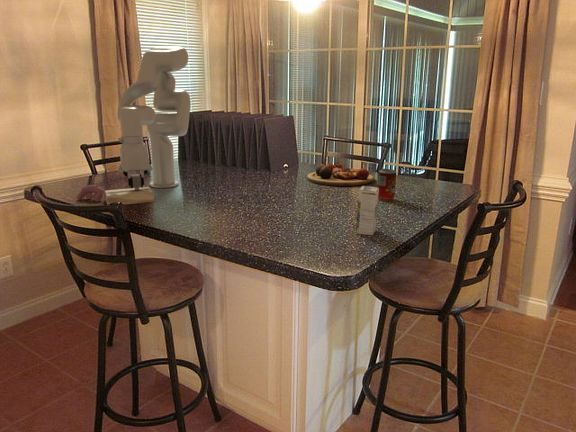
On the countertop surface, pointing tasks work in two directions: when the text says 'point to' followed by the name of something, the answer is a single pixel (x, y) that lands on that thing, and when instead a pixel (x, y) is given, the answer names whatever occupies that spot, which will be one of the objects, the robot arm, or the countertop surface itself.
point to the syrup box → (367, 210)
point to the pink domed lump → (89, 190)
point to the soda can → (386, 184)
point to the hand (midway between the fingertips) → (136, 186)
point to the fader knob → (136, 181)
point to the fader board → (129, 195)
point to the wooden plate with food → (339, 176)
